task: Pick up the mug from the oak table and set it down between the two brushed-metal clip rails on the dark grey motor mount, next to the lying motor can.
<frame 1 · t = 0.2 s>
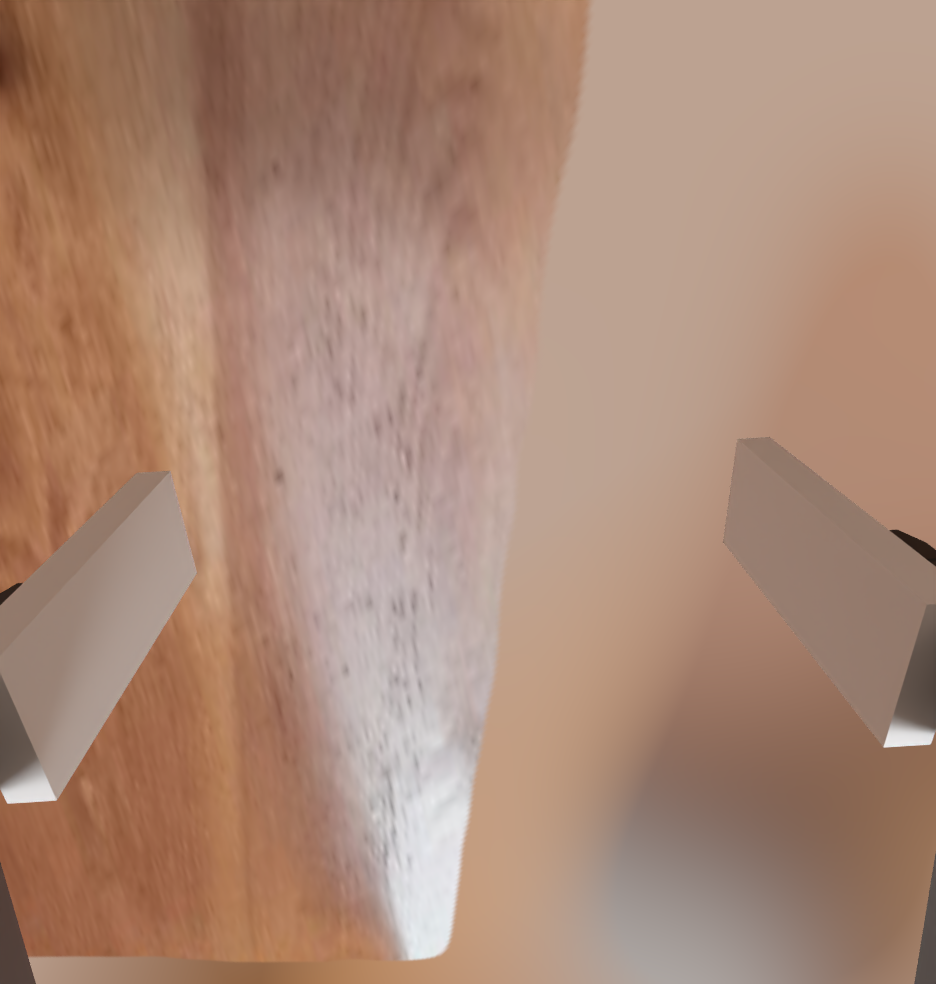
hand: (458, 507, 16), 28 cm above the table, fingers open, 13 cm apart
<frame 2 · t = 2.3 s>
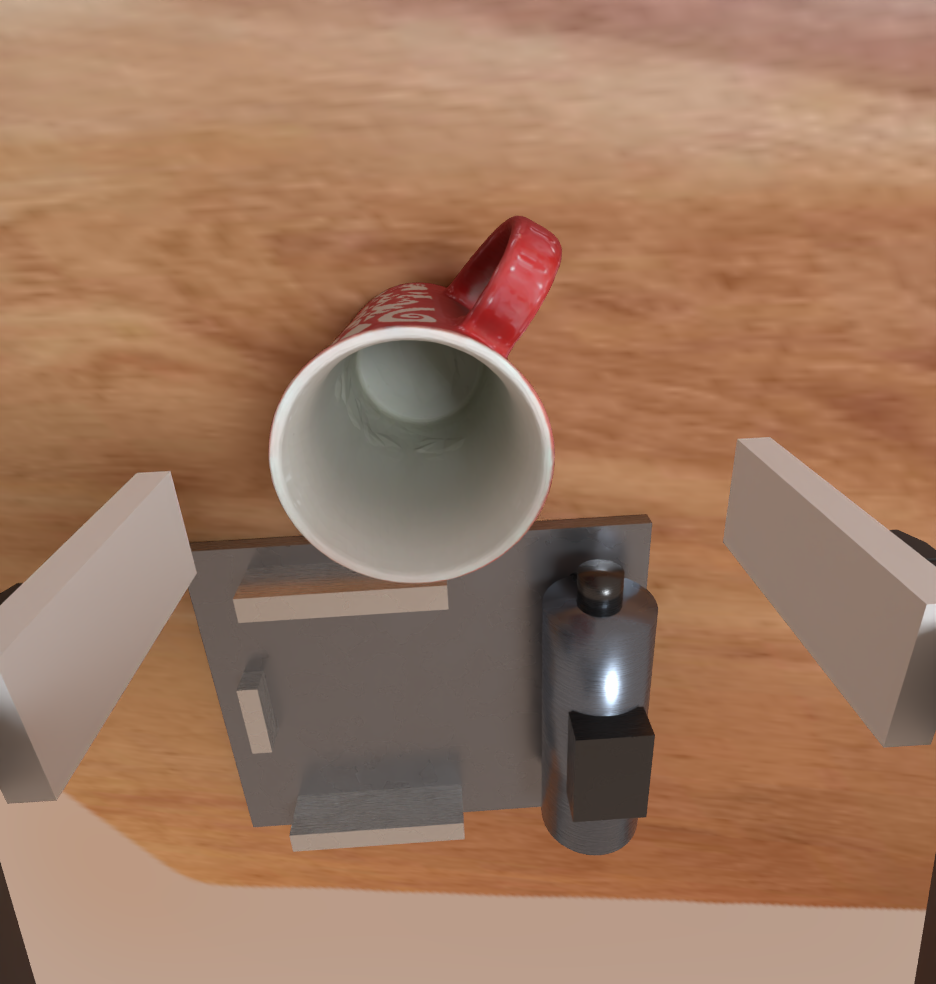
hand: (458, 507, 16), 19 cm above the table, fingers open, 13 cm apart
motor mount: (431, 680, 42), on the table
mug: (440, 329, 33), on the table
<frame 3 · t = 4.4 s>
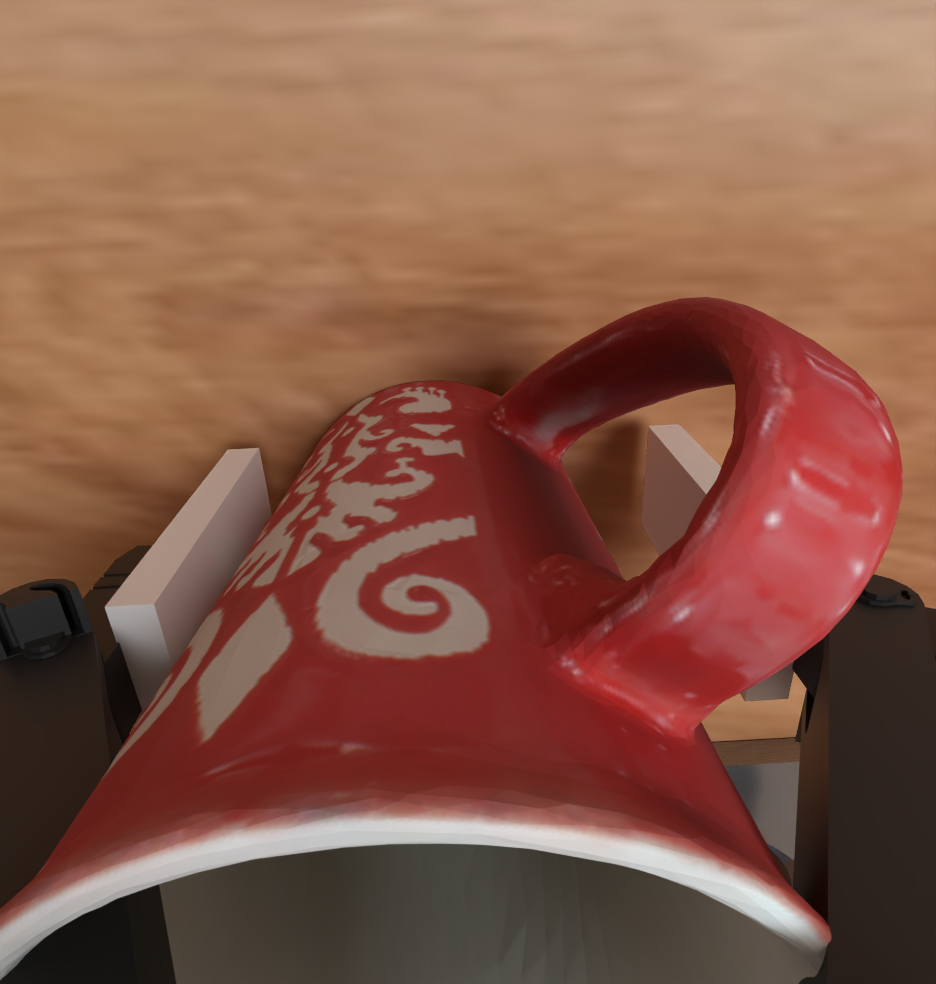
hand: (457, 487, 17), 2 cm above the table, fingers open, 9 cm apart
motor mount: (446, 951, 27), on the table
mug: (472, 456, 18), on the table, touching gripper
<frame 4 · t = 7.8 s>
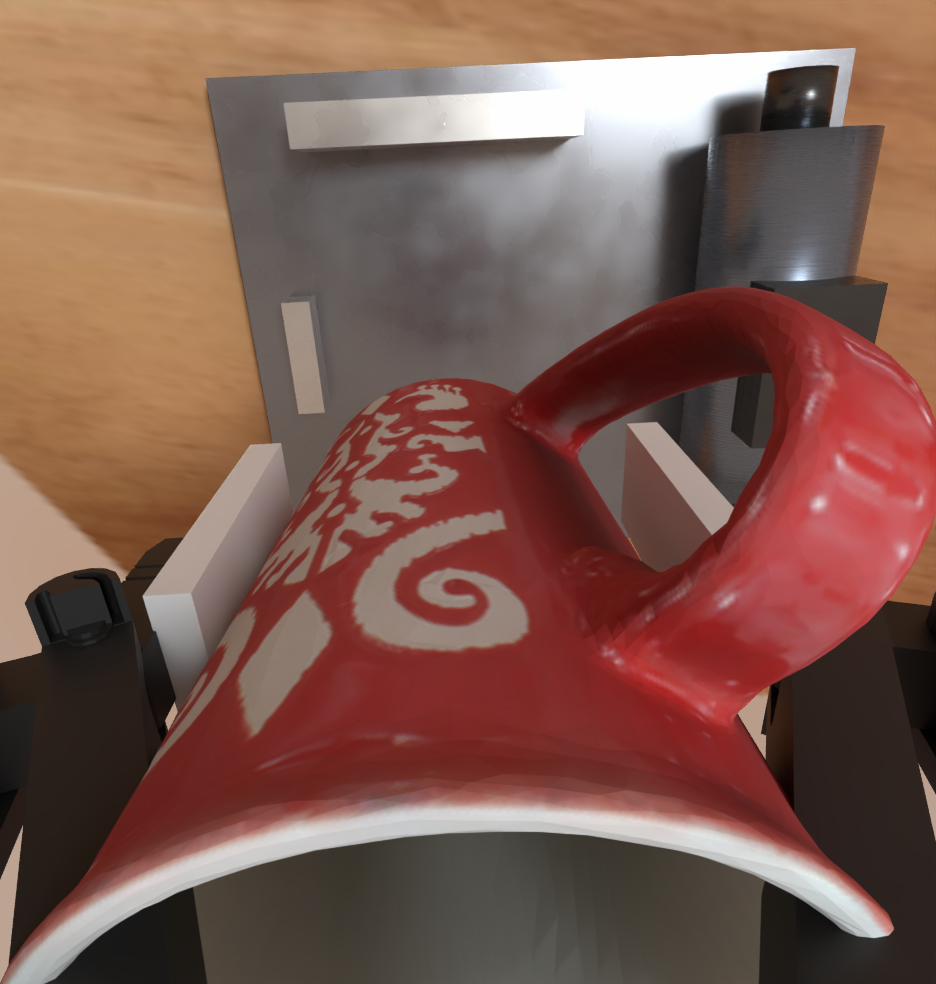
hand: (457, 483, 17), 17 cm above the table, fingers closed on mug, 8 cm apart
motor mount: (531, 334, 32), on the table
mug: (487, 453, 18), point 15 cm above the table, touching gripper
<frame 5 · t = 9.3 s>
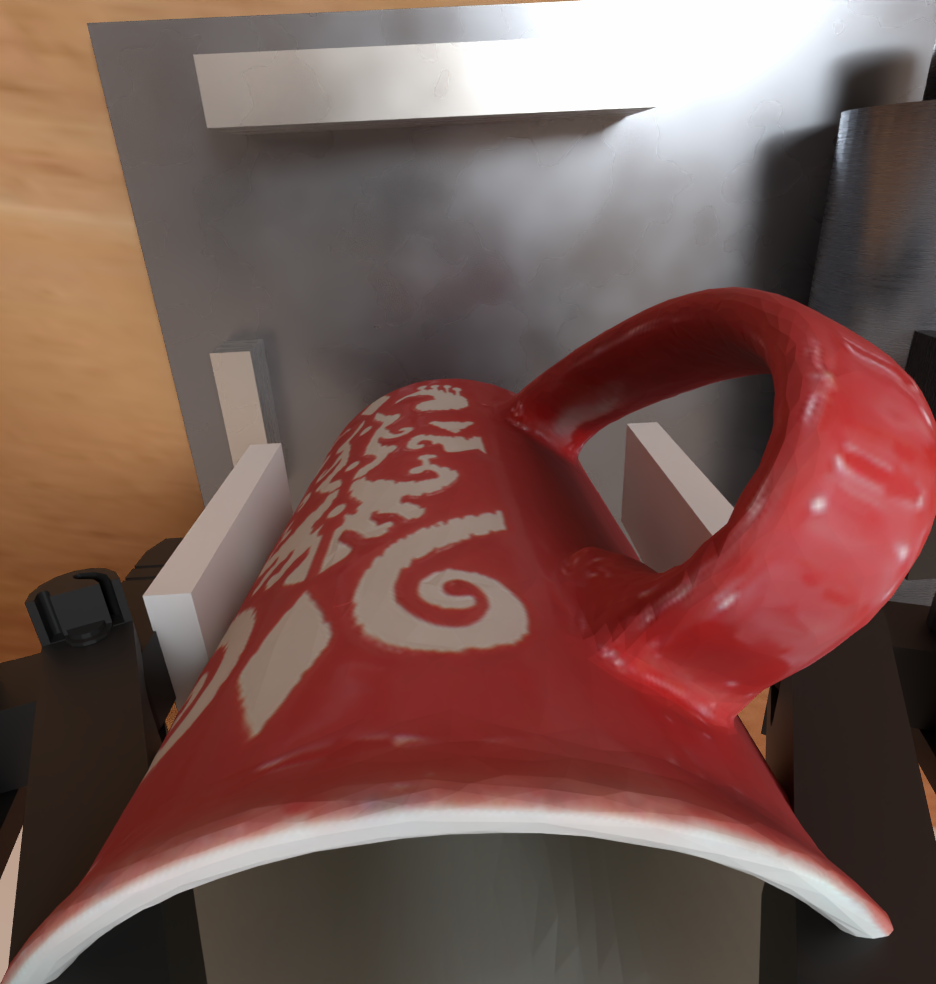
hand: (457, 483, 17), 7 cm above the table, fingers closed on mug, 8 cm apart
motor mount: (563, 388, 23), on the table
mug: (487, 453, 18), point 6 cm above the table, touching gripper
when the fingers open (4 cm above the table, at t = 10.8 s): mug drops 2 cm, resting on motor mount.
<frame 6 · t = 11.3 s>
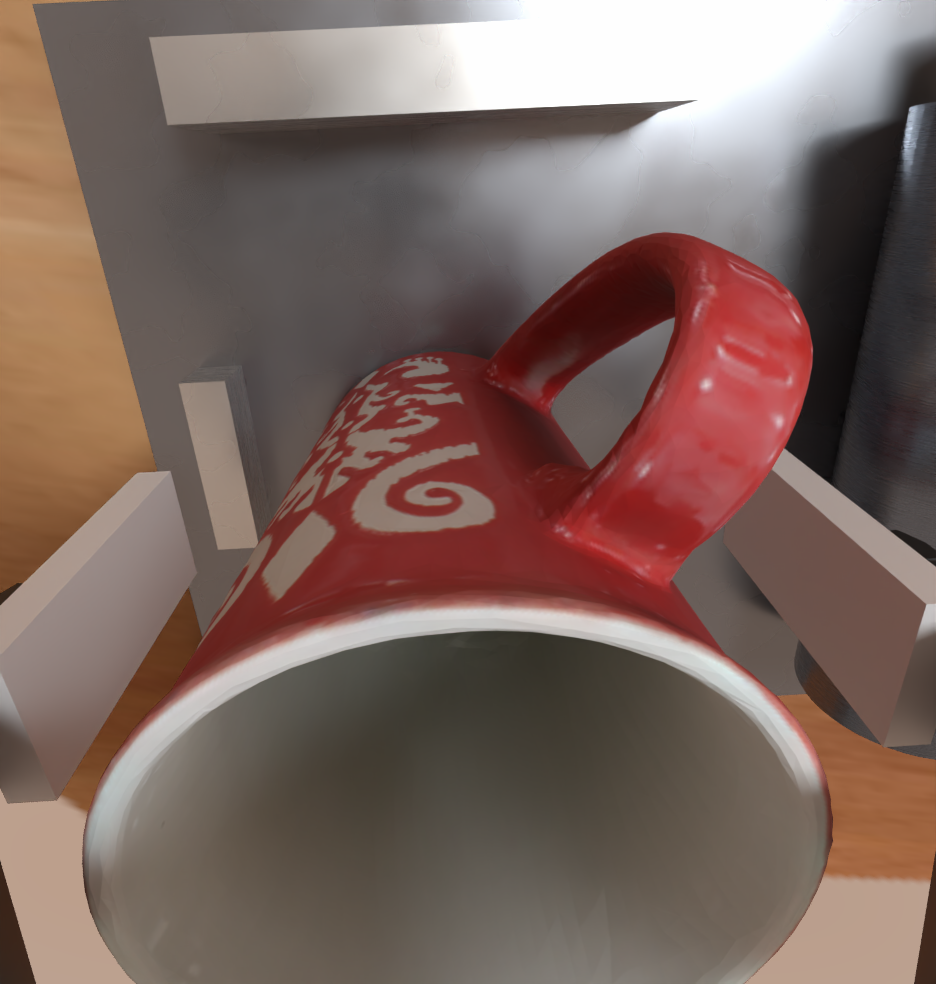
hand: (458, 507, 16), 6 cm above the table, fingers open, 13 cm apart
motor mount: (580, 418, 21), on the table
mug: (472, 420, 20), point 1 cm above the table, touching motor mount
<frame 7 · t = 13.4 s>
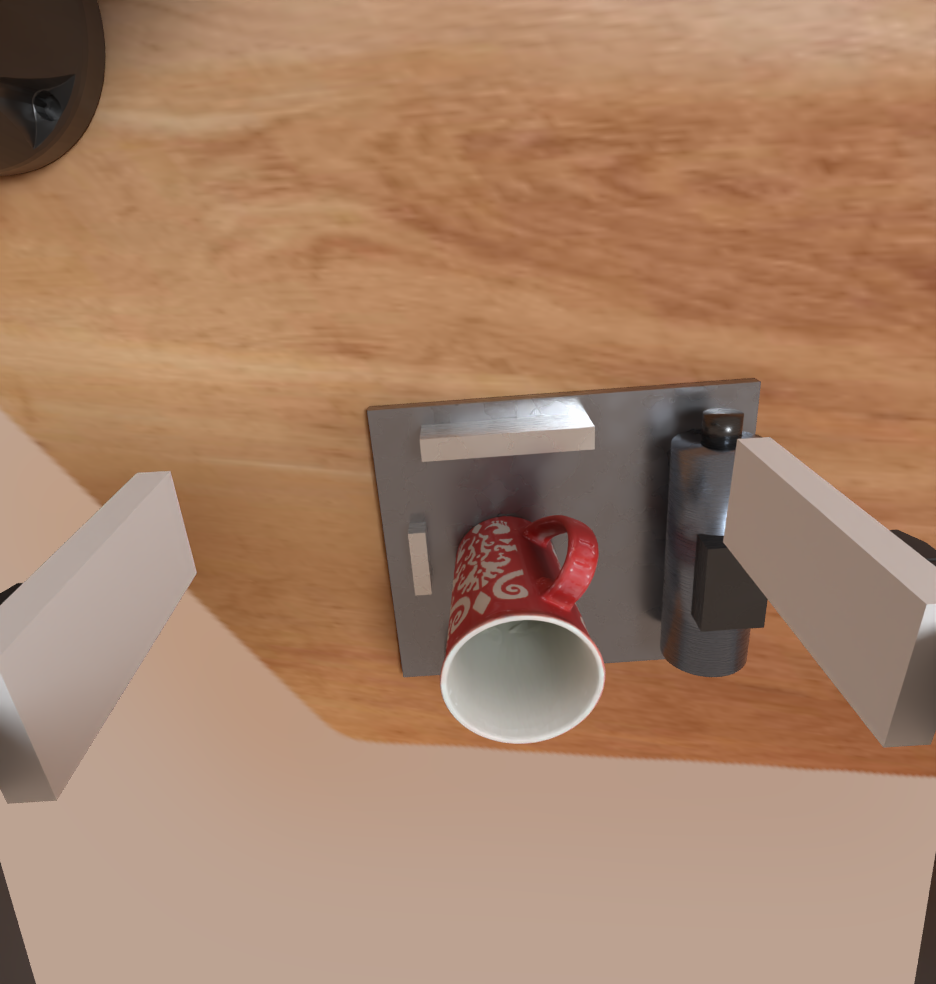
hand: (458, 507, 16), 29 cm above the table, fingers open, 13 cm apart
motor mount: (563, 537, 49), on the table
mug: (517, 540, 48), point 1 cm above the table, touching motor mount
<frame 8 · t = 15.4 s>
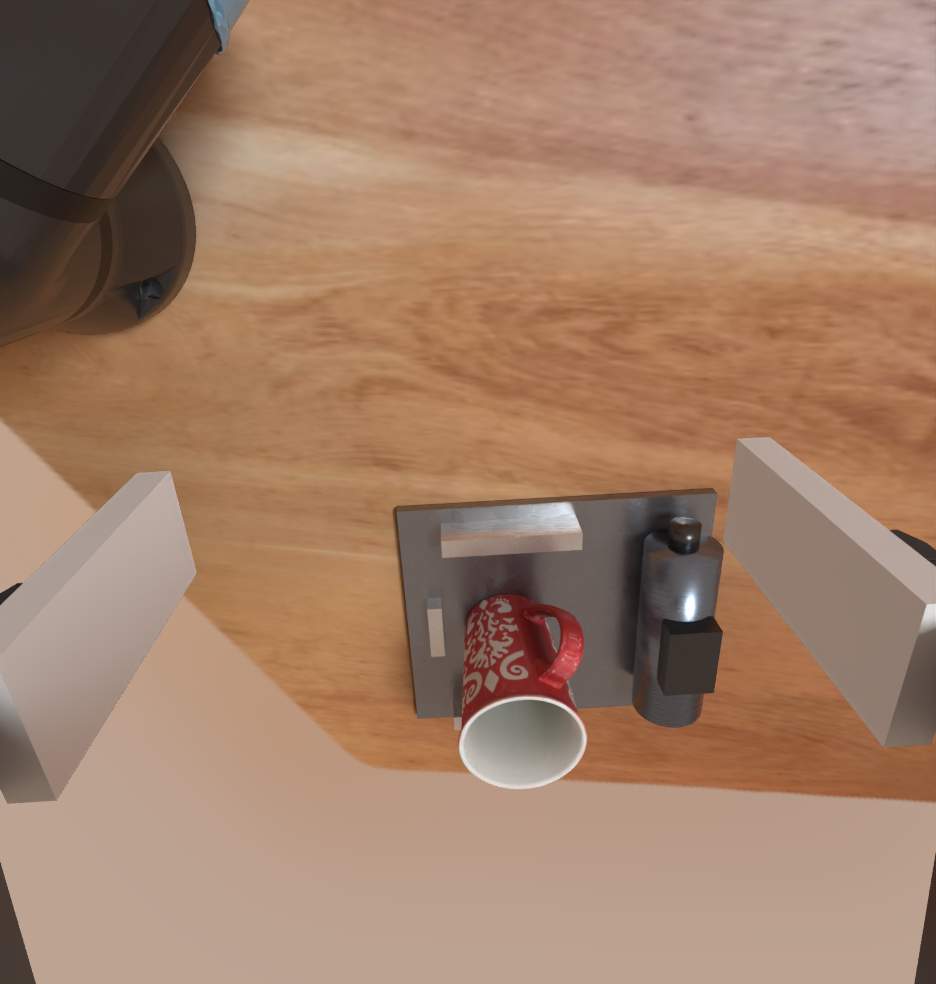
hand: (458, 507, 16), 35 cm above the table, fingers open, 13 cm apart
motor mount: (554, 608, 59), on the table
mug: (516, 611, 58), point 1 cm above the table, touching motor mount
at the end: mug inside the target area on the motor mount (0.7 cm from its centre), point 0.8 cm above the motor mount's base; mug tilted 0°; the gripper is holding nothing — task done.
